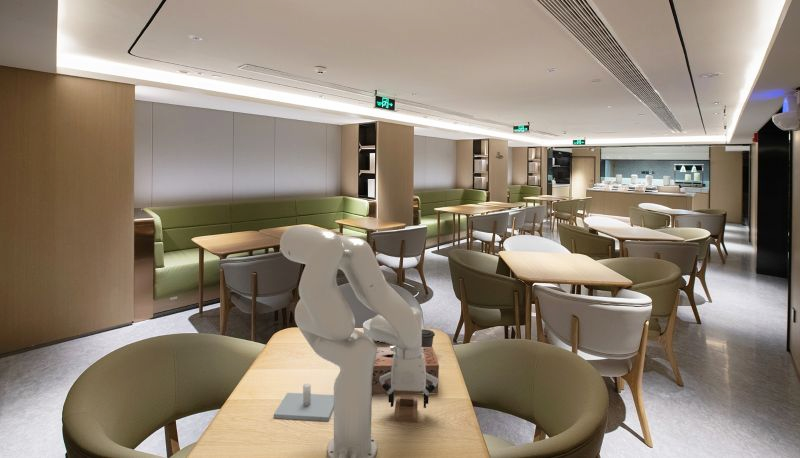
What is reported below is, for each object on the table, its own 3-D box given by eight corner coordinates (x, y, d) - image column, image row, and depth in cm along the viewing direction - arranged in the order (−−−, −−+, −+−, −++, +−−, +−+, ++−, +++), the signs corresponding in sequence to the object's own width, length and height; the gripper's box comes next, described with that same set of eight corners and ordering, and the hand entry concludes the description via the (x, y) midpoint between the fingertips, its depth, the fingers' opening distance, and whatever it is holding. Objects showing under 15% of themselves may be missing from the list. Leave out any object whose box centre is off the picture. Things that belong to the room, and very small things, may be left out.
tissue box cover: (431, 373, 149) (432, 347, 148) (437, 394, 135) (438, 365, 133) (359, 374, 147) (360, 347, 146) (358, 395, 133) (358, 365, 132)
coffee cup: (433, 360, 159) (434, 335, 157) (412, 358, 160) (413, 334, 159) (434, 352, 167) (435, 328, 165) (414, 350, 168) (415, 326, 167)
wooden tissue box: (416, 422, 119) (417, 409, 118) (394, 421, 119) (394, 408, 119) (417, 410, 125) (417, 397, 125) (396, 408, 125) (396, 396, 125)
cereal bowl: (386, 329, 191) (386, 314, 190) (409, 340, 178) (410, 324, 177) (355, 337, 180) (355, 322, 179) (378, 350, 167) (378, 333, 166)
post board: (328, 421, 118) (328, 397, 117) (273, 418, 119) (273, 394, 118) (337, 398, 130) (337, 377, 129) (287, 396, 131) (287, 374, 130)
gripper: (377, 355, 117) (377, 411, 119) (439, 357, 115) (438, 413, 118) (380, 344, 124) (380, 397, 127) (438, 345, 123) (437, 398, 126)
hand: (408, 404), depth 122 cm, fingers open, 9 cm apart
